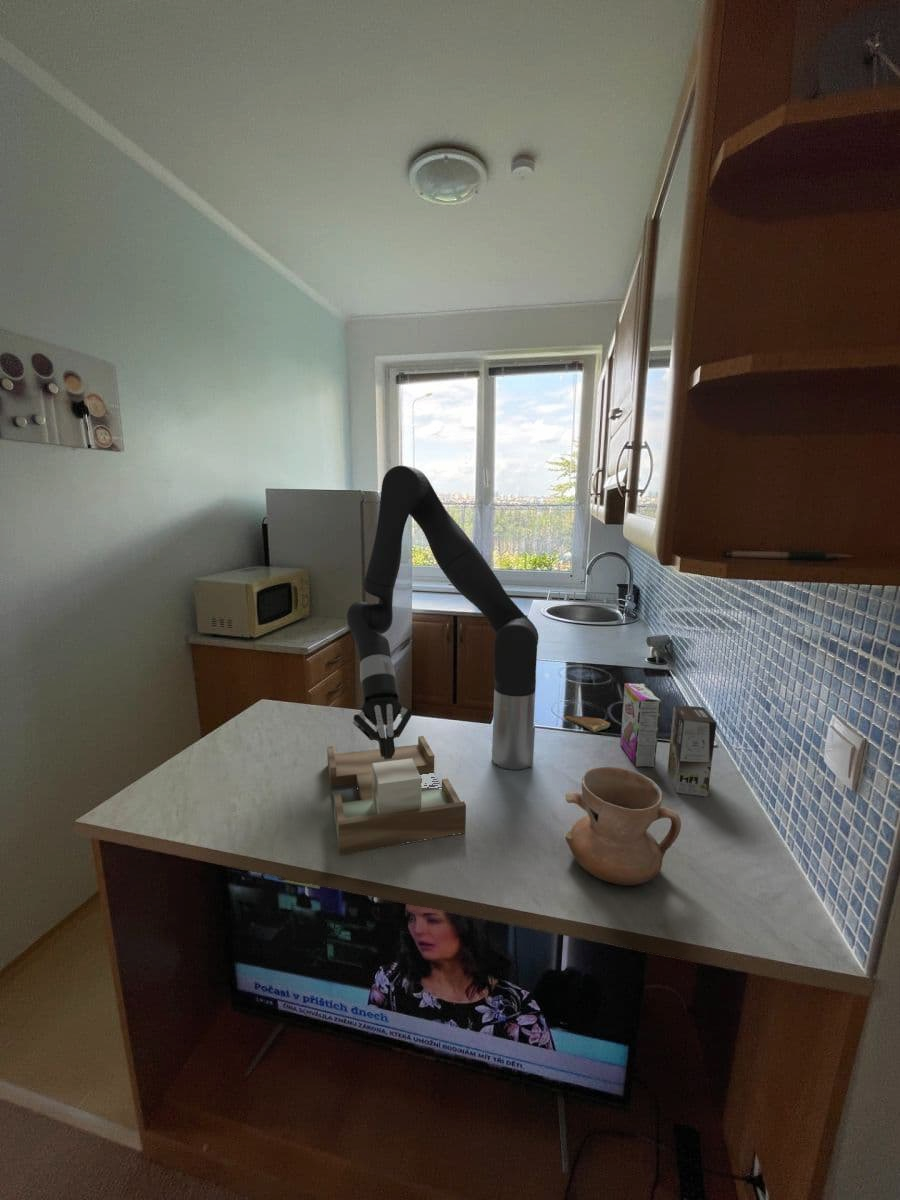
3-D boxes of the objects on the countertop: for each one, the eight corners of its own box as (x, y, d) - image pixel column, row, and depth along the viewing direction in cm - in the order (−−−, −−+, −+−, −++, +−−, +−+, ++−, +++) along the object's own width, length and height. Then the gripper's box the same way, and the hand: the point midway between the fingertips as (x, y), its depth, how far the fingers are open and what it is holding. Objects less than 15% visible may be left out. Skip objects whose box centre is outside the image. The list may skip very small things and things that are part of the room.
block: (372, 802, 94) (372, 763, 93) (411, 797, 96) (412, 758, 95) (378, 826, 87) (378, 783, 86) (421, 819, 89) (421, 778, 88)
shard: (563, 720, 142) (563, 714, 142) (582, 714, 146) (582, 709, 146) (593, 734, 133) (593, 728, 133) (612, 728, 137) (613, 722, 137)
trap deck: (327, 765, 113) (327, 742, 112) (423, 753, 119) (423, 732, 118) (339, 855, 83) (339, 824, 82) (465, 833, 90) (466, 805, 89)
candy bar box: (618, 745, 126) (623, 682, 123) (638, 746, 126) (644, 683, 123) (633, 767, 115) (639, 699, 112) (655, 768, 115) (662, 699, 112)
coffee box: (709, 797, 103) (717, 723, 100) (675, 793, 104) (683, 719, 102) (697, 775, 112) (704, 706, 109) (666, 771, 113) (673, 703, 110)
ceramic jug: (558, 883, 78) (565, 800, 75) (561, 827, 92) (568, 755, 89) (683, 910, 74) (696, 823, 71) (667, 847, 88) (677, 772, 85)
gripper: (348, 674, 105) (356, 755, 96) (410, 669, 109) (423, 747, 100) (346, 690, 111) (353, 768, 102) (405, 685, 115) (417, 760, 106)
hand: (388, 757), depth 101 cm, fingers closed
